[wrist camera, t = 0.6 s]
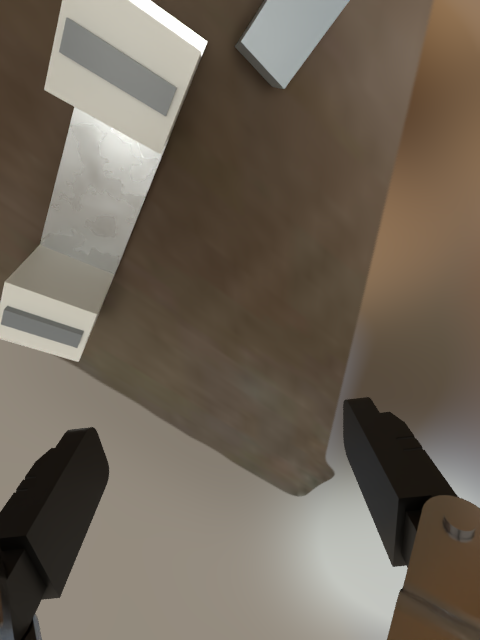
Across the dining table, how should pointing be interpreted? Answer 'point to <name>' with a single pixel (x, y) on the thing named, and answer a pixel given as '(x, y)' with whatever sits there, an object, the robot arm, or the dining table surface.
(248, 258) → the dining table surface
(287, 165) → the dining table surface
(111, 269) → the rail
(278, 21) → the block
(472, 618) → the robot arm
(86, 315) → the mounted modules
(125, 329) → the dining table surface
